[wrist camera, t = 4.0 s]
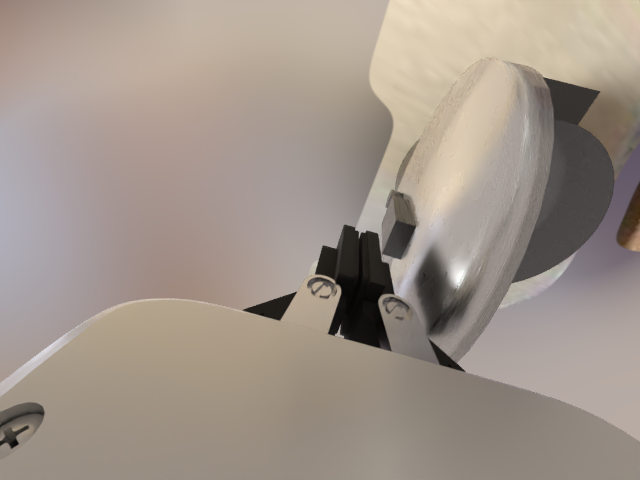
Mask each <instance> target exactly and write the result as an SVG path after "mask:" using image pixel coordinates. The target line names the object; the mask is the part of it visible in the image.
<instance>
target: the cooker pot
mask: <svg viewBox="0 0 640 480" xmlns="http://www.w3.org/2000/svg"><path fill="white" fill-rule="evenodd" d="M543 78H544V77H543ZM544 80H545V82H546V84H547V86H548V87H549V90H550V95H551V100H552V104H553V109H554V142H553V150H552V157H551V164H550V171H549V177H548V181H547V185H546V189H545V193H544V197H543V201H542V205H541V209H540V212H539V216H538V219H537V221H536V224H535V227H534V230H533V232H532V235H531V238H530V241H529V244H528V246H527V249H526V252H525V255H524V257H523V259H522V261H521V263H520V265H519V268H518V270H517V272H516V274H515V276H514V278H513V280H512V283H515V282H518V281H522V280H525V279H528V278H531V277H534V276H536V275H538V274H541V273H543V272H545V271H547V270H549V269H551V268H552V267H554V266H556V265H558V264H559V263H561V262H562V261H564V260H565V259H567V258H568V257H569V256H571V255H572V254H573V253H574V252H575V251H577V250H578V249H579V248H580V247H581V246H582V245H583V244H584V243H585V242H586V241H587V240H588V239H589V238H590V237H591V235H592V234H593V233H594V232H595V230H596V229H597V228H598V226H599V224H600V223H601V221H602V220H603V218H604V216H605V214H606V212H607V210H608V207H609V204H610V201H611V198H612V194H613V188H614V170H613V166H612V162H611V159H610V157H609V155H608V153H607V151H606V149H605V148H604V146H603V145H602V144H601V142H600V141H599V140H598V139H597V138H596V137H594V136H593V135H592V134H591V133H590V132H588V131H586V130H585V129H583V128H581V127H579V126H577V125H578V123H579V122H580V121H581V119H582V118H583V116H584V115H585V113H586V112H587V110H588V109H589V107H590V106H591V104H592V103H593V102H594V100H595V99H596V97H597V96H598V94H599V93H600V91H596V90H592V89H588V88H584V87H580V86H576V85H572V84H568V83H564V82H560V81H556V80H552V79H548V78H544ZM419 140H420V139H419ZM419 140H418V141H417V142H416V143H415V144H414V145H413V147H412V148H411V149H410V151H409V152H408V153H407V155H406V157H405V158H404V160H403V162H402V164H401V166H400V168H399V172H398V175H397V179H396V186H395V191H397V190H398V187H399V185H400V182H401V180H402V177H403V175H404V173H405V170H406V168H407V166H408V164H409V161H410V159H411V157H412V155H413V153H414V151H415V148H416V146H417V144H418V142H419Z"/></svg>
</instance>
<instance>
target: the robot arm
mask: <svg viewBox="0 0 640 480" xmlns="http://www.w3.org/2000/svg"><path fill="white" fill-rule="evenodd" d="M340 325H341V329H340V335H343V336H344V338H340V337H337V336H335V334H336V333H337V332H338V330H339V327H340ZM0 480H640V442H639V441H638V440H636V439H635V438H633V437H632V436H630V435H628V434H627V433H625V432H624V431H622V430H621V429H619V428H617V427H615V426H614V425H612V424H610V423H608V422H607V421H605V420H603V419H601V418H599V417H597V416H595V415H593V414H591V413H589V412H587V411H584V410H582V409H580V408H578V407H575V406H572V405H570V404H567V403H565V402H562V401H560V400H557V399H554V398H551V397H548V396H544V395H541V394H538V393H535V392H532V391H529V390H526V389H522V388H519V387H515V386H512V385H509V384H505V383H501V382H498V381H494V380H491V379H487V378H483V377H480V376H477V375H473V374H469V373H466V372H465V371H464V370H463V369H462V368H461V367H460V366H459V365H458V364H457V363H456V362H455V361H454V360H452V359H451V358H450V357H449V356H448V355H447V354H446V353H445V352H444V351H442V350H441V349H440V348H439V347H438V346H437V345H436V344H435V343H434V342H432V341H431V340H430V339H429V338H428V337H427V335H426V333H425V331H424V328H423V326H422V324H421V322H420V320H419V317H418V315H417V313H416V311H415V309H414V308H413V306H412V305H411V304H410V303H409V302H408V301H406V300H405V299H403V298H401V297H399V296H397V295H395V294H394V288H393V283H392V278H391V272H390V267H389V264H388V263H386V262H382V257H381V250H380V243H379V237H378V234H377V233H374V232H370V231H366V233H361V235H360V238H359V231H355V227H352V226H348V225H344V227H343V230H342V233H341V236H340V239H339V242H338V246H337V249H335V248H331V247H327V246H323V247H322V250H321V254H320V258H319V261H318V265H317V269H316V272H315V275H311V276H309V277H307V278H306V279H305V280H304V281H303V283H302V285H301V287H300V288H299V290H298V292H295V293H292V294H289V295H286V296H283V297H280V298H277V299H274V300H271V301H268V302H265V303H262V304H259V305H256V306H253V307H250V308H247V309H244V310H242V311H241V310H237V309H232V308H229V307H224V306H220V305H216V304H211V303H207V302H201V301H195V300H186V299H173V298H166V299H165V298H164V299H144V300H137V301H131V302H126V303H123V304H120V305H116V306H114V307H112V308H109V309H107V310H105V311H103V312H101V313H99V314H97V315H95V316H93V317H92V318H90V319H88V320H87V321H85V322H83V323H82V324H80V325H79V326H77V327H76V328H74V329H73V330H72V331H70V332H68V333H67V334H65V335H64V336H62V337H61V338H60V339H58V340H57V341H55V342H54V343H53V344H51V345H50V346H49V347H47V348H46V349H44V350H43V351H41V352H40V353H39V354H37V356H35V357H33V358H32V359H31V360H30V361H28V362H27V363H26V364H24V365H23V366H22V367H20V368H19V369H18V370H17V371H15V372H14V373H12V374H11V375H10V376H8V377H7V378H6V379H5V380H3V381H2V382H1V383H0Z"/></svg>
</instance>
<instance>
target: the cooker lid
mask: <svg viewBox="0 0 640 480" xmlns="http://www.w3.org/2000/svg"><path fill="white" fill-rule="evenodd" d="M553 142H554V109H553V104H552V100H551V95H550V90H549V87H548V86H547V84H546V82H545V80H544V78H543V76H542V75H541V74H540V73H539V72H538V71H536V70H535V69H534V68H532V67H529V66H524V65H520V64H515V63H511V62H506V61H502V60H498V59H492V58H485V59H482V60H479V61H478V62H476V63H475V64H473V65H472V66H470V67H469V68H468V69H467V70H466V71H465V72H464V73H463V74H462V75H461V76H460V78H459V79H458V80H457V81H456V82H455V84H454V85H453V86H452V87H451V89H450V90H449V92H448V93H447V94H446V96H445V97H444V99H443V100H442V102H441V103H440V105H439V106H438V108H437V110H436V111H435V113H434V115H433V116H432V118H431V120H430V122H429V123H428V125H427V127H426V129H425V131H424V133H423V135H422V136H421V138H420V140H419V142H418V144H417V146H416V148H415V151H414V153H413V155H412V157H411V159H410V161H409V164H408V166H407V168H406V170H405V173H404V175H403V177H402V180H401V182H400V185H399V187H398V190H397V191H394V190H391V192H390V194H389V197H388V199H387V203H386V208H388V209H387V211H386V214H385V217H384V219H383V222H382V235H381V239H380V242H379V243H380V250H381V257H382V262H386V263H388V264H389V267H390V272H391V278H392V283H393V288H394V294H395V295H397V296H399V297H401V298H403V299H405V300H406V301H408V302H409V303H410V304H411V305H412V306H413V308H414V309H415V311H416V313H417V315H418V317H419V320H420V322H421V324H422V326H423V328H424V331H425V333H426V335H427V337H428V338H429V339H430V340H431V341H432V342H434V343H435V344H436V345H437V346H438V347H439V348H440V349H441V350H442V351H444V352H445V353H446V354H447V355H448V356H449V357H450V358H451V359H452V360H454V361H455V362H456V363H457V362H458V361H459V360H460V359H461V358H462V357H463V356H464V355H465V354H466V353H467V352H468V351H469V350H470V348H471V347H472V346H473V344H474V343H475V341H476V340H477V339H478V337H479V336H480V335H481V333H482V332H483V331H484V329H485V328H486V327H487V325H488V324H489V322H490V320H491V319H492V317H493V315H494V313H495V312H496V310H497V308H498V307H499V305H500V303H501V302H502V300H503V298H504V296H505V295H506V293H507V291H508V289H509V287H510V285H511V283H512V280H513V278H514V276H515V274H516V272H517V270H518V268H519V265H520V263H521V261H522V259H523V257H524V255H525V252H526V249H527V246H528V244H529V241H530V238H531V235H532V232H533V230H534V227H535V224H536V221H537V219H538V216H539V212H540V209H541V205H542V201H543V197H544V193H545V189H546V185H547V181H548V177H549V171H550V164H551V157H552V150H553Z"/></svg>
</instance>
